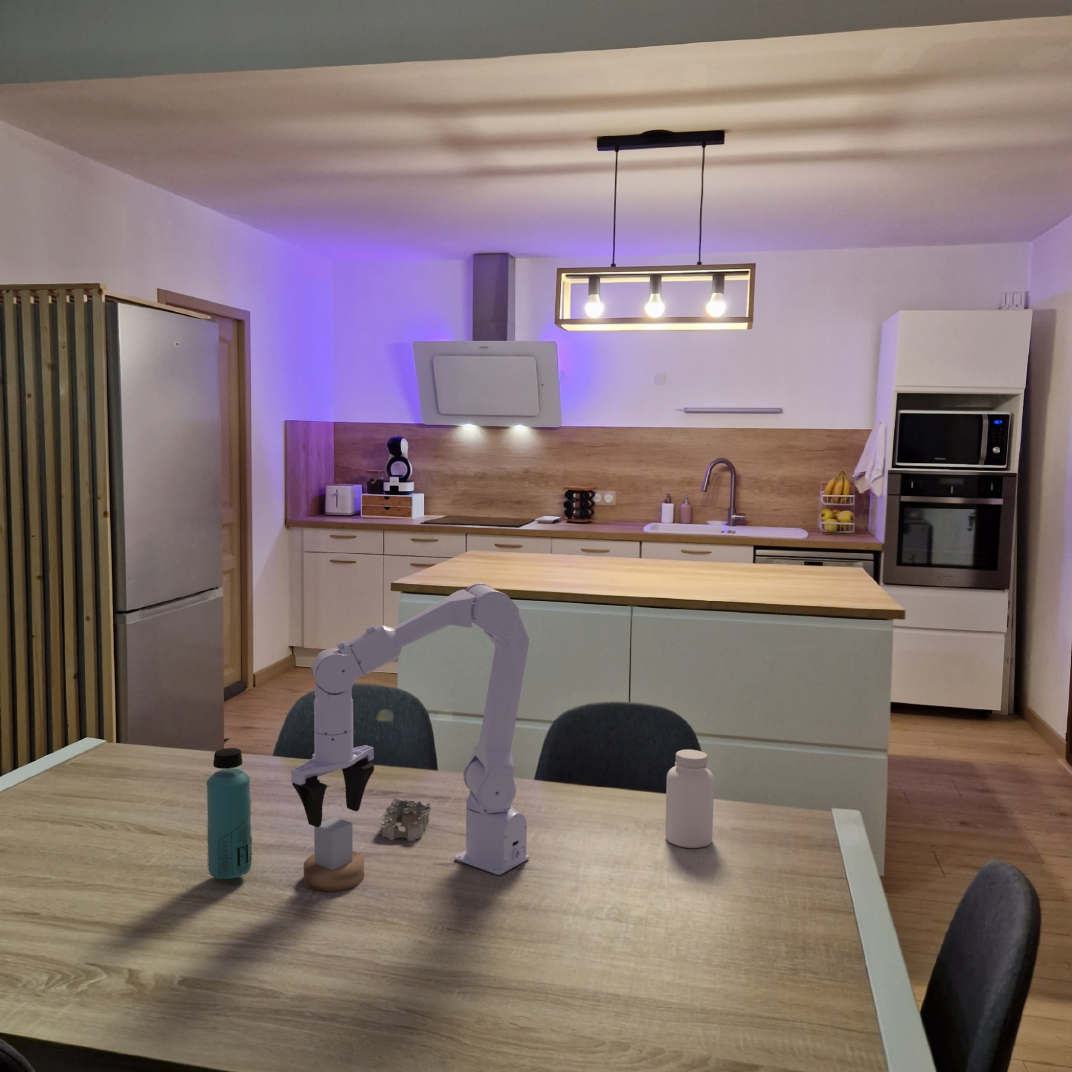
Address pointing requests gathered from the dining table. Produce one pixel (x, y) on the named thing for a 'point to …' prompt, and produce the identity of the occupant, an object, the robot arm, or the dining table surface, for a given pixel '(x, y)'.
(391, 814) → the egg carton
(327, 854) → the block
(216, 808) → the beverage bottle
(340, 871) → the pedestal
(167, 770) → the dining table surface
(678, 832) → the pill bottle
